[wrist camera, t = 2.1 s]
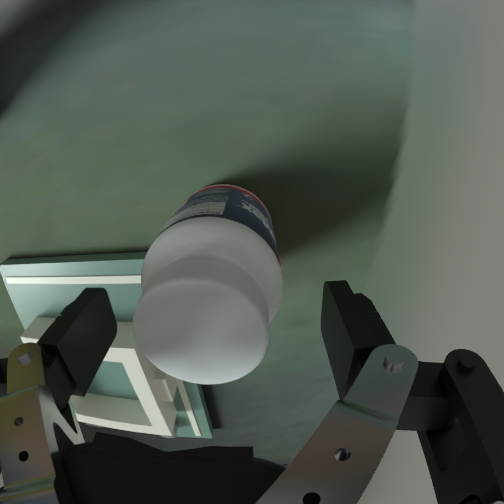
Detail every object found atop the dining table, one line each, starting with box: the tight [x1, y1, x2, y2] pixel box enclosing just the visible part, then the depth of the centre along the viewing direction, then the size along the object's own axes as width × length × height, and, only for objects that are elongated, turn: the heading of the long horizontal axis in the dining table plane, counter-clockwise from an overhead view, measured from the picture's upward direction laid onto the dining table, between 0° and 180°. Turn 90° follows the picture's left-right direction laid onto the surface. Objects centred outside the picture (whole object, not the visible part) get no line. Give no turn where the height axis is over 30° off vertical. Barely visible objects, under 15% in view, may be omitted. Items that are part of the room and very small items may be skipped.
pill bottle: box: [133, 184, 283, 384], centre depth 12 cm, size 5×5×9 cm
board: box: [0, 252, 213, 438], centre depth 19 cm, size 18×14×4 cm
